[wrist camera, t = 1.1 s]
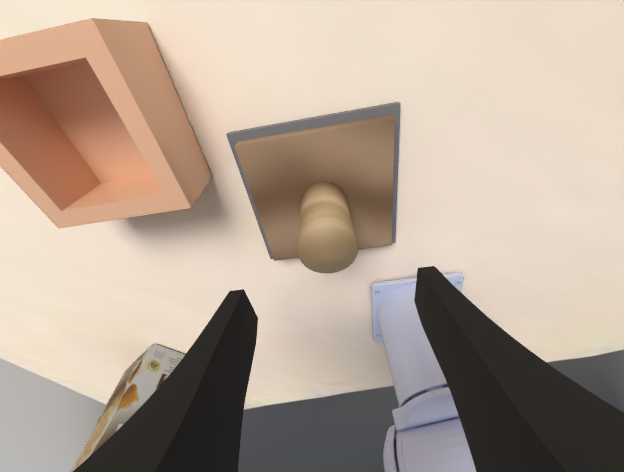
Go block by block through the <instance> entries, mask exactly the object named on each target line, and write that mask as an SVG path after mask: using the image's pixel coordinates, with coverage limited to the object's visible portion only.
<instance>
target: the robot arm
mask: <svg viewBox="0 0 624 472" xmlns="http://www.w3.org/2000/svg"><path fill="white" fill-rule="evenodd" d="M463 281H464V276H463V274H462V273H451V274H442V273H441V272H440V271H439V270H438V269H437V268H436V267H434V266H431V267H423V268H418V272H417V278H409V279H400V280H392V281H383V282H376V283H373V284H372V285H371V300H372V324H373V340H374V342H376V343H380V342H384V346H385V350H386V354H387V358H388V362H389V367H390V371H391V375H392V379H393V383H394V387H395V391H396V395H397V399H398V403H399V407H400V408H398V409H395V410H392V413H393V418H394V422H395V425H393V426H391V427H390V428H389V430H388V433H387V436H386V441H385V445H384V469H385V472H624V413H623V412H621V411H620V410H618V409H617V408H615V407H613V406H612V405H610V404H608V403H607V402H605V401H603V400H602V399H600V398H599V397H597V396H596V395H594V394H593V393H591V392H590V391H588V390H586V389H585V388H583V387H582V386H580V385H579V384H577V383H576V382H574V381H573V380H571V379H569V378H568V377H566V376H565V375H563V374H562V373H560V372H559V371H557V370H556V369H555V368H553V367H552V366H550V365H549V364H548V363H546V362H545V361H543V360H542V359H540V358H539V357H538V356H536V355H535V354H534V353H532V352H531V351H530V350H528V349H527V348H526V347H524V346H523V345H522V344H520V343H519V342H518V341H516V340H515V339H514V338H513V337H511V336H510V335H509V334H508V333H506V332H505V331H504V330H503V329H501V328H500V327H499V326H498V325H497V324H495V323H494V322H493V321H492V320H491V319H489V318H488V317H487V316H486V315H485V314H484V313H483V312H481V311H480V310H479V309H478V308H477V307H476V306H475V305H474V304H473V303H472V302H470V301H469V300H468V299H467V298H466V297H465V296H464V295H463V294H462V293H461V288H462V285H463ZM257 323H258V318H257V316H256V314H255V311H254V309H253V307H252V305H251V303H250V301H249V299H248V297H247V295H246V293H245V291H244V290H235V291H230V292H229V293H228V295H227V296H226V297H225V299H224V300H223V302H222V303H221V305H220V306H219V308H218V309H217V311H216V312H215V314H214V315H213V317H212V318H211V320H210V321H209V323H208V324H207V326H206V327H205V329H204V330H203V331H202V333H201V334H200V336H199V337H198V339H197V340H196V341H195V343H194V344H193V345H192V347H191V348H190V349H189V351H188V352H187V353H186V355H185V356H184V357H183V358H182V360H181V361H180V362H179V364H178V365H177V366H176V367H175V369H174V370H173V371H172V372H171V373H170V375H169V376H168V377H167V378H166V379H165V381H164V382H163V383H162V384H161V385H160V386H159V387H158V389H157V390H156V391H155V392H154V393H153V394H152V395H151V396H150V397H149V398H148V400H147V401H146V402H145V403H144V404H143V405H142V406H141V407H140V408H139V409H138V410H137V411H136V412H135V413H134V414H133V415H132V416H131V417H130V418H129V419H128V420H127V421H126V422H125V423H124V424H123V425H122V426H121V427H120V428H119V429H118V430H117V431H116V432H115V433H114V434H113V435H112V436H111V437H110V438H109V439H108V440H107V441H106V442H105V443H104V444H103V445H102V446H100V447H99V448H98V449H97V450H96V451H95V452H94V453H93V454H92V455H91V456H90V457H89V458H87V459H86V460H85V461H84V462H83V463H82V464H81V465H79V466H78V467H77V468H76V469H75V470H74V471H73V472H238V461H239V449H240V437H241V427H242V418H243V409H244V402H245V396H246V391H247V386H248V381H249V376H250V371H251V366H252V361H253V356H254V350H255V345H256V337H257Z"/></svg>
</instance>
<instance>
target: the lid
mask: <svg viewBox="0 0 624 472" xmlns="http://www.w3.org/2000/svg"><path fill="white" fill-rule="evenodd" d="M394 126H395V118H394V117H393V116H392V115H386V116H381V117H375V118H369V119H364V120H358V121H352V122H347V123H341V124H335V125H330V126H324V127H318V128H313V129H307V130H301V131H296V132H290V133H284V134H278V135H273V136H267V137H261V138H256V139H250V140H244V141H239V142H237V143H236V145H235V149H236V152H237V155H238V158H239V161H240V163H241V166H242V169H243V172H244V175H245V178H246V181H247V184H248V186H249V189H250V192H251V195H252V198H253V201H254V204H255V207H256V210H257V212H258V215H259V218H260V221H261V224H262V227H263V230H264V233H265V236H266V238H267V241H268V244H269V247H270V250H271V253H272V256H273V259H274V260H282V259H289V258H297V257H299V258H300V260H301V262H302V263H303V264H304V265H305V266H306V267H307V268H309V269H311V270H313V271H315V272H319V273H334V272H338V271H341V270H343V269H345V268H347V267H348V266H349V265H351V264H352V262H353V261H354V260H355V258H356V256H357V252H358V249H366V248H373V247H381V246H389V245H392V205H393V166H394Z"/></svg>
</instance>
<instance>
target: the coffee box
mask: <svg viewBox="0 0 624 472" xmlns="http://www.w3.org/2000/svg"><path fill="white" fill-rule="evenodd" d="M184 356H185V354H183V353H180V352H177V351H174V350H171V349H169V348H166V347H163V346H161V345H158V344H153V345H151V346H150V347H149V348H148V349H147V350H146V351H145V352H144V353H143V354H142V355H141V356H140V357H139V358H138V359H137V360H136V361H135V362H134V363H133V364H132V365H131V366H130V367H129V368H128V369H127V370H126V371H125V372H124V374H123V376H122V378H121V380H120V381H119V383H118V385H117V387H116V388H115V390H114V392H113V394H112V396H111V398H110V399H109V401H108V403H107V405H106V407H105V409H104V411H103V412H102V414H101V416H100V418H99V420H98V421H97V423H96V425H95V427H94V429H93V431H92V432H91V434H90V436H89V438H88V440H87V441H86V443H85V445H84V447H83V449H82V451H81V452H80V454H79V456H78V458H77V460H76V462H75V463H74V465H73V467H72V469H71V471H70V472H73V471H74V470H75V469H76V468H77V467H78V466H79V465H81V464H82V463H83V462H84V461H85V460H86V459H87V458H89V457H90V456H91V455H92V454H93V453H94V452H95V451H96V450H97V449H98V448H99V447H100V446H102V445H103V444H104V443H105V442H106V441H107V440H108V439H109V438H110V437H111V436H112V435H113V434H114V433H115V432H116V431H117V430H118V429H119V428H120V427H121V426H122V425H123V424H124V423H125V422H126V421H127V420H128V419H129V418H130V417H131V416H132V415H133V414H134V413H135V412H136V411H137V410H138V409H139V408H140V407H141V406H142V405H143V404H144V403H145V402H146V401H147V400H148V398H149V397H150V396H151V395H152V394H153V393H154V392H155V391H156V390H157V389H158V387H159V386H160V385H161V384H162V383H163V382H164V381H165V379H166V378H167V377H168V376H169V375H170V373H171V372H172V371H173V370H174V369H175V367H176V366H177V365H178V364H179V362H180V361H181V360H182V358H183V357H184Z"/></svg>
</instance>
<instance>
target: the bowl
mask: <svg viewBox="0 0 624 472" xmlns="http://www.w3.org/2000/svg"><path fill="white" fill-rule="evenodd" d="M0 167H1V168H2V169H3V170H4V171H5V172H6V173H7V174H8V175H9V176H10V177H11V178H12V179H13V180H14V182H15V183H16V184H17V185H18V186H19V187H20V188H21V189H22V190H23V191H24V192H25V193H26V194H27V195H28V196H29V198H30V199H31V200H32V201H33V202H34V203H35V204H36V205H37V206H38V207H39V208H40V209H41V210H42V211H43V212H44V214H45V215H46V216H47V217H48V218H49V219H50V220H51V221H52V222H53V223H54V224H55V225H56V226H57V227H58V228H65V227H71V226H78V225H84V224H91V223H97V222H104V221H110V220H117V219H123V218H130V217H136V216H143V215H149V214H156V213H162V212H169V211H175V210H182V209H188V208H192V206H193V205H194V203H195V202H196V200H197V199H198V197H199V196H200V194H201V193H202V191H203V190H204V188H205V187H206V185H207V184H208V183H209V181H210V180H211V178H212V177H213V176H212V173H211V171H210V169H209V166H208V164H207V162H206V159H205V157H204V155H203V152H202V150H201V148H200V145H199V143H198V141H197V138H196V136H195V134H194V131H193V129H192V127H191V124H190V122H189V120H188V117H187V115H186V113H185V110H184V108H183V106H182V103H181V101H180V99H179V96H178V94H177V91H176V89H175V87H174V84H173V82H172V80H171V77H170V75H169V73H168V70H167V68H166V66H165V63H164V61H163V59H162V56H161V54H160V52H159V49H158V47H157V45H156V42H155V40H154V38H153V35H152V33H151V31H150V28H149V26H148V24H147V22H134V21H121V20H108V19H95V18H91V19H87V20H83V21H78V22H74V23H70V24H66V25H61V26H57V27H53V28H48V29H44V30H40V31H36V32H31V33H27V34H23V35H19V36H14V37H10V38H6V39H1V40H0Z"/></svg>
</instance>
